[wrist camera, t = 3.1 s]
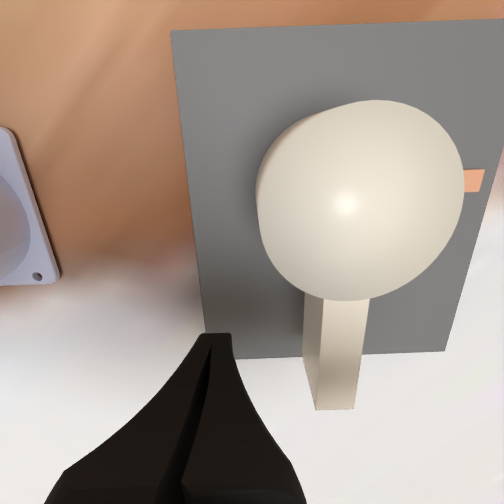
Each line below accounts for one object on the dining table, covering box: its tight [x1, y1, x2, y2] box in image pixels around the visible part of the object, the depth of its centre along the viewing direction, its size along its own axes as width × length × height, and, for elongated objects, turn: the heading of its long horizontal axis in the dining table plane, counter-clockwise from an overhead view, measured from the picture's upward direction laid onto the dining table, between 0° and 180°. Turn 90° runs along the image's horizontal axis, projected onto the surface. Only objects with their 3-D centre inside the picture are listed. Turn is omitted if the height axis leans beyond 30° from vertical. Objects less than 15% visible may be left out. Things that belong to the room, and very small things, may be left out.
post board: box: [170, 19, 504, 359], centre depth 14 cm, size 14×16×2 cm
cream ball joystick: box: [255, 100, 465, 410], centre depth 11 cm, size 12×6×4 cm, turn 2°
